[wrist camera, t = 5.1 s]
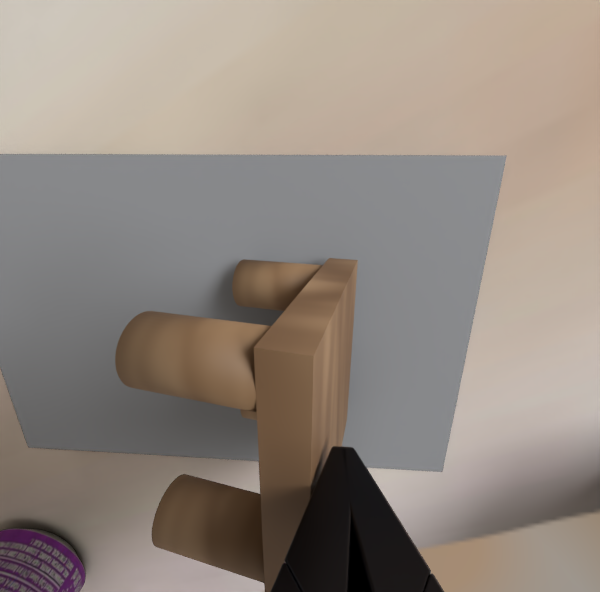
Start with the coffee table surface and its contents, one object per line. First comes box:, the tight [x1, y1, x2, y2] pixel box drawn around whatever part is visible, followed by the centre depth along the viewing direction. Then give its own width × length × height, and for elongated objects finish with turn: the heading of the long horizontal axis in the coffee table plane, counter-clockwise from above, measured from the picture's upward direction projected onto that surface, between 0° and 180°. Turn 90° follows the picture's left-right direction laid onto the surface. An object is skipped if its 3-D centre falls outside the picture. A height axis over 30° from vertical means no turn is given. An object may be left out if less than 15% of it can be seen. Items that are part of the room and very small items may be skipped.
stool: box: [115, 258, 358, 592], centre depth 12 cm, size 5×8×8 cm, turn 0°
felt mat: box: [0, 154, 506, 472], centre depth 16 cm, size 24×16×1 cm, turn 90°
